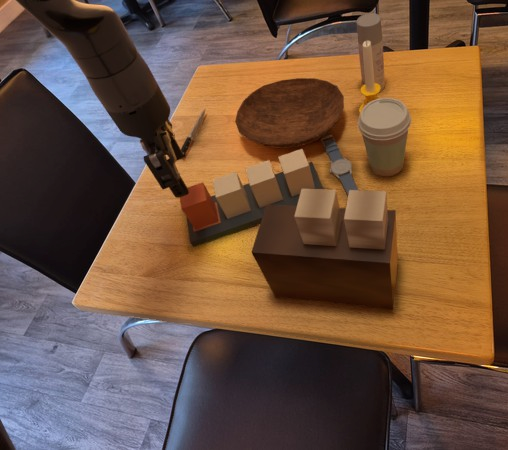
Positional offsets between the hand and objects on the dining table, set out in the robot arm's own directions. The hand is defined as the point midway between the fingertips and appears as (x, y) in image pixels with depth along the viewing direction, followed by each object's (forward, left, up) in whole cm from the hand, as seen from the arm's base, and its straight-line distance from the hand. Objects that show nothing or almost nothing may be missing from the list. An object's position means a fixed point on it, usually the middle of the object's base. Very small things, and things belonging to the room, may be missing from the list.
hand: (180, 176), depth 70 cm
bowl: (+17, -21, -13) cm, 30 cm away
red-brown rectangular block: (0, 0, -11) cm, 11 cm away
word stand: (-20, -18, -13) cm, 30 cm away
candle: (+14, -37, -13) cm, 42 cm away
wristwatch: (+1, -26, -13) cm, 29 cm away
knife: (+25, -1, -13) cm, 28 cm away
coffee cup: (-1, -34, -13) cm, 36 cm away
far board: (0, -9, -13) cm, 15 cm away
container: (+21, -40, -13) cm, 47 cm away
